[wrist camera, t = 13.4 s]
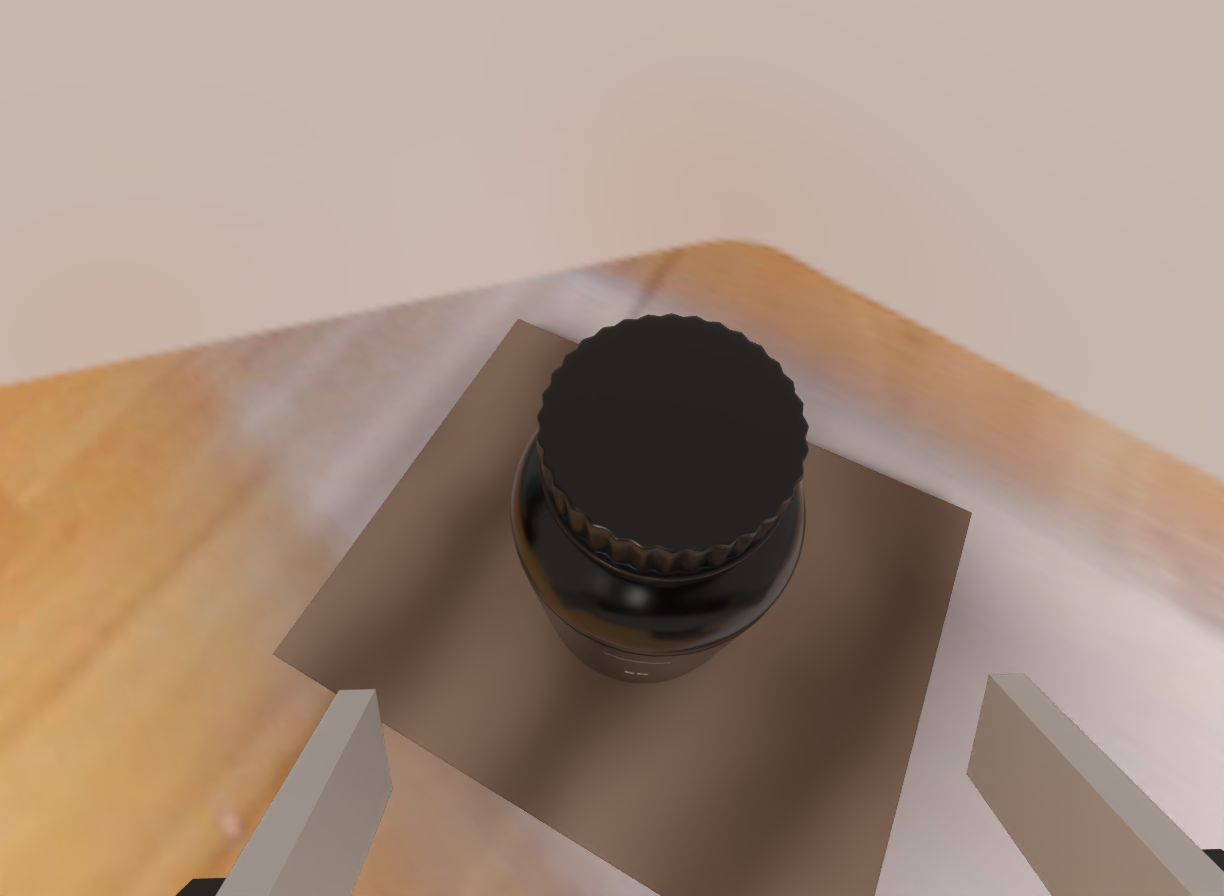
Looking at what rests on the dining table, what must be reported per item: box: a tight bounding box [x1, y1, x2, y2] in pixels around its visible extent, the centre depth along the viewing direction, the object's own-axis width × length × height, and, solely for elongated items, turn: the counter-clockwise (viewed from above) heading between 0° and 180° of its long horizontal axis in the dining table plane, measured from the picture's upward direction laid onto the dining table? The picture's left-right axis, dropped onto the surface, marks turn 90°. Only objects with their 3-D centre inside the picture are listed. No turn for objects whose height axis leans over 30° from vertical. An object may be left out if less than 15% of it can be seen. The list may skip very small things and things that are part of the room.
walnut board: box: [273, 319, 972, 896], centre depth 22 cm, size 20×16×2 cm
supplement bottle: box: [510, 314, 809, 683], centre depth 16 cm, size 7×7×12 cm
